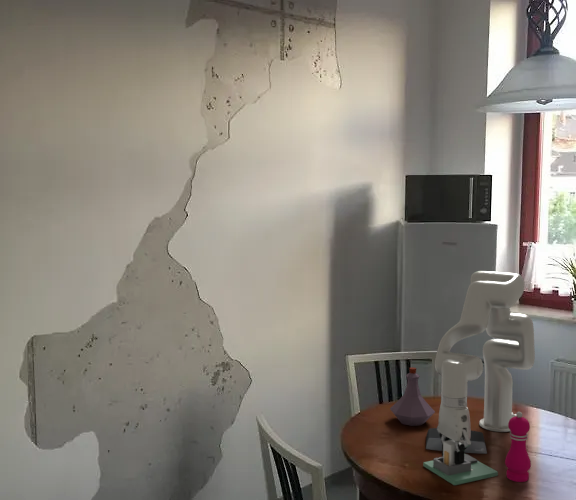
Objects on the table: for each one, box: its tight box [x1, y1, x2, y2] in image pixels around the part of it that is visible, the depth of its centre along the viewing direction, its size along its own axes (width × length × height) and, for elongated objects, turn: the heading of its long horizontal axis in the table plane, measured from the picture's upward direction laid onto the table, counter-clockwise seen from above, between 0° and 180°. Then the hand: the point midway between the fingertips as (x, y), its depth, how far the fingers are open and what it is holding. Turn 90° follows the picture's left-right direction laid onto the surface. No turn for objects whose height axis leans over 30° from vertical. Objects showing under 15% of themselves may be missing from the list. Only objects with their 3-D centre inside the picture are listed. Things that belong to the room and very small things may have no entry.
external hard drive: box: [425, 427, 488, 455], centre depth 225 cm, size 13×19×4 cm
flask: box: [389, 366, 436, 427], centre depth 247 cm, size 16×16×20 cm
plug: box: [443, 440, 461, 466], centre depth 203 cm, size 4×4×8 cm
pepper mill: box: [504, 411, 532, 483], centre depth 198 cm, size 7×7×20 cm
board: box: [422, 453, 499, 486], centre depth 204 cm, size 16×15×4 cm
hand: (452, 459), depth 203 cm, fingers open, 5 cm apart
